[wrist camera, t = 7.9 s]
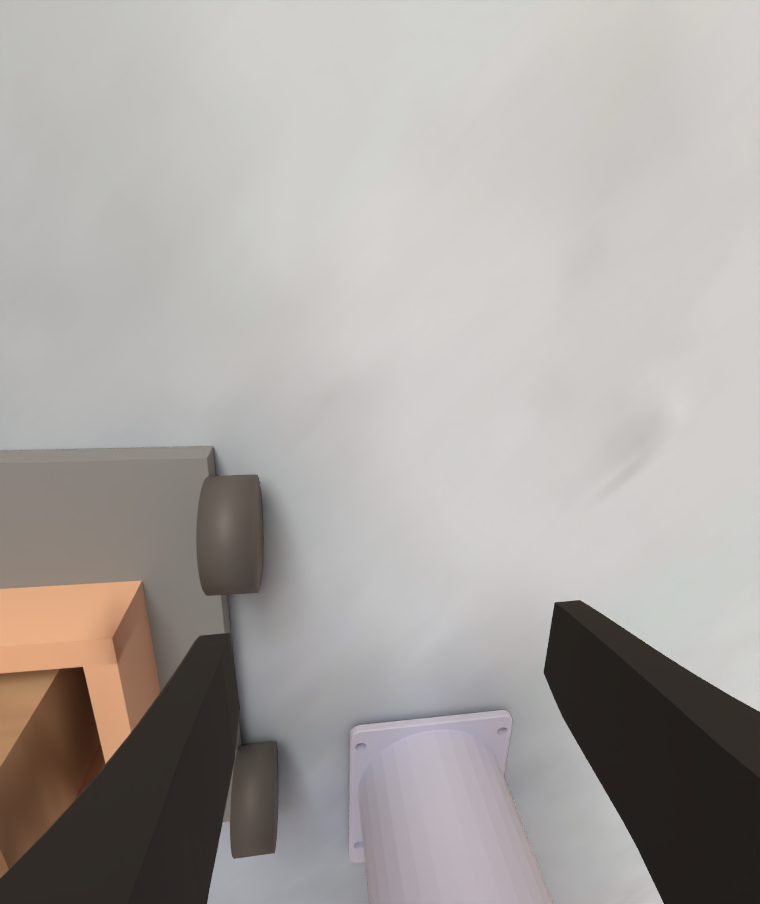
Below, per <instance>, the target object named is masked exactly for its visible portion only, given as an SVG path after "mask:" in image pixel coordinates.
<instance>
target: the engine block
mask: <svg viewBox="0 0 760 904" xmlns="http://www.w3.org/2000/svg"><path fill="white" fill-rule="evenodd" d="M99 743H100V738H99V733H98V729H97V725H96V721H95V716H94V712H93V708H92V703H91V699H90V695H89V690H88V686H87V682H86V677H85V673H84V669H83V667H74V668H61V669H49V670H37V671H24V672H12V673H0V878H1V877H2V876H3V875H4V874H5V873H6V872H7V871H8V870H9V869H10V868H11V867H12V866H13V865H14V864H15V863H16V862H17V861H18V860H19V859H20V858H21V857H22V856H23V855H24V854H25V853H26V852H27V851H28V850H29V849H30V848H31V847H32V845H33V844H34V843H35V842H36V841H37V840H38V839H39V838H40V837H41V836H42V835H43V834H44V833H45V832H46V831H47V830H48V829H49V828H50V827H51V826H52V825H53V824H54V822H55V821H56V820H57V819H58V818H59V817H60V816H61V815H62V814H63V813H64V811H65V810H66V809H67V808H68V807H69V806H70V805H71V804H72V803H73V802H74V800H75V799H76V797H77V794H78V792H79V790H80V787H81V785H82V783H83V780H84V778H85V776H86V773H87V771H88V769H89V766H90V764H91V762H92V759H93V757H94V755H95V752H96V750H97V748H98V745H99Z"/></svg>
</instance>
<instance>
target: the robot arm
mask: <svg viewBox="0 0 760 904" xmlns="http://www.w3.org/2000/svg"><path fill="white" fill-rule="evenodd" d="M544 674H545V677H546V679H547V682H548V684H549V687H550V689H551V691H552V694H553V696H554V699H555V701H556V703H557V705H558V707H559V710H560V712H561V714H562V716H563V718H564V720H565V722H566V724H567V725H568V727H569V729H570V731H571V733H572V734H573V736H574V738H575V740H576V741H577V743H578V745H579V746H580V748H581V750H582V752H583V753H584V755H585V757H586V759H587V760H588V762H589V764H590V765H591V767H592V769H593V771H594V772H595V774H596V776H597V777H598V779H599V781H600V783H601V784H602V786H603V788H604V789H605V791H606V793H607V795H608V796H609V798H610V800H611V801H612V803H613V805H614V807H615V808H616V810H617V812H618V813H619V815H620V817H621V819H622V820H623V822H624V824H625V826H626V828H627V829H628V831H629V833H630V835H631V837H632V839H633V841H634V842H635V844H636V846H637V848H638V850H639V852H640V854H641V856H642V859H643V861H644V863H645V865H646V867H647V869H648V871H649V873H650V875H651V877H652V880H653V882H654V884H655V886H656V888H657V890H658V892H659V894H660V896H661V898H662V900H663V903H664V904H760V712H759V711H757V710H755V709H753V708H752V707H750V706H748V705H746V704H744V703H743V702H741V701H739V700H737V699H735V698H734V697H732V696H730V695H728V694H727V693H725V692H723V691H722V690H720V689H718V688H717V687H715V686H713V685H712V684H710V683H708V682H706V681H705V680H703V679H701V678H700V677H698V676H696V675H695V674H693V673H692V672H690V671H688V670H687V669H685V668H684V667H682V666H680V665H679V664H677V663H676V662H674V661H672V660H671V659H669V658H668V657H666V656H665V655H663V654H662V653H660V652H659V651H657V650H655V649H654V648H652V647H651V646H649V645H648V644H646V643H645V642H643V641H642V640H640V639H639V638H637V637H636V636H634V635H633V634H631V633H630V632H628V631H627V630H625V629H624V628H622V627H621V626H619V625H618V624H616V623H615V622H613V621H612V620H610V619H609V618H607V617H606V616H604V615H603V614H601V613H600V612H598V611H596V610H595V609H593V608H592V607H590V606H589V605H587V604H585V603H584V602H582V601H580V600H577V601H567V602H556V603H555V604H554V611H553V617H552V623H551V630H550V636H549V642H548V648H547V655H546V661H545V667H544ZM239 708H240V706H239V699H238V691H237V683H236V675H235V667H234V659H233V651H232V643H231V635H230V633H222V634H212V635H201V636H199V637H198V638H197V639H196V640H195V641H194V643H193V645H192V646H191V648H190V649H189V651H188V652H187V654H186V655H185V657H184V659H183V660H182V662H181V663H180V665H179V666H178V668H177V669H176V671H175V672H174V674H173V675H172V677H171V678H170V679H169V681H168V682H167V684H166V685H165V687H164V688H163V690H162V691H161V692H160V694H159V695H158V697H157V698H156V699H155V701H154V702H153V703H152V705H151V706H150V707H149V709H148V710H147V712H146V713H145V714H144V716H143V717H142V718H141V720H140V721H139V723H138V724H137V725H136V726H135V728H134V729H133V730H132V732H131V733H130V734H129V735H128V737H127V738H126V739H125V740H124V742H123V743H122V744H121V745H120V747H119V748H118V749H117V750H116V752H115V753H114V754H113V755H112V757H111V758H110V759H109V760H108V762H107V763H106V764H105V765H104V767H103V768H102V769H101V770H100V772H99V773H98V774H97V775H96V776H95V777H94V779H93V780H92V781H91V782H90V783H89V784H88V786H87V787H86V788H85V789H84V790H83V791H82V793H81V794H80V795H79V796H78V797H77V798H76V799H75V800H74V802H73V803H72V804H71V805H70V806H69V807H68V808H67V809H66V810H65V811H64V813H63V814H62V815H61V816H60V817H59V818H58V819H57V820H56V821H55V822H54V824H53V825H52V826H51V827H50V828H49V829H48V830H47V831H46V832H45V833H44V834H43V835H42V836H41V837H40V838H39V839H38V840H37V841H36V842H35V843H34V844H33V845H32V847H31V848H30V849H29V850H28V851H27V852H26V853H25V854H24V855H23V856H22V857H21V858H20V859H19V860H18V861H17V862H16V863H15V864H14V865H13V866H12V867H11V868H10V869H9V870H8V871H7V872H6V873H5V874H4V875H3V876H2V877H1V878H0V904H207V900H208V894H209V888H210V883H211V878H212V873H213V868H214V863H215V858H216V853H217V848H218V842H219V837H220V832H221V827H222V822H223V817H224V812H225V807H226V802H227V797H228V792H229V787H230V781H231V776H232V771H233V766H234V760H235V752H236V742H237V731H238V719H239ZM512 723H513V720H512V717H511V715H510V713H509V712H508V711H506V710H497V711H487V712H478V713H468V714H459V715H449V716H440V717H430V718H421V719H411V720H402V721H392V722H383V723H373V724H364V725H358V726H355V727H354V728H352V730H351V731H350V740H349V859H350V861H351V862H353V863H363V862H365V866H366V875H367V885H368V895H369V904H553V902H552V899H551V897H550V894H549V891H548V889H547V886H546V884H545V881H544V879H543V876H542V874H541V871H540V869H539V866H538V863H537V861H536V858H535V856H534V853H533V851H532V848H531V846H530V843H529V840H528V838H527V835H526V833H525V830H524V828H523V825H522V823H521V820H520V818H519V815H518V812H517V810H516V807H515V805H514V802H513V800H512V797H511V795H510V792H509V790H508V787H507V784H506V782H505V779H504V772H505V766H506V760H507V754H508V748H509V742H510V735H511V729H512ZM359 743H361V744H359Z"/></svg>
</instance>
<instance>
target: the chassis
mask: <svg viewBox="0 0 760 904" xmlns="http://www.w3.org/2000/svg"><path fill="white" fill-rule="evenodd" d="M262 564H263V511H262V497H261V488H260V482H259V478H258V476H257V475H232V476H216V472H215V462H214V451H213V446H196V447H151V448H105V449H60V450H14V451H0V673H12V672H24V671H37V670H49V669H61V668H74V667H83V669H84V673H85V677H86V682H87V686H88V690H89V695H90V699H91V703H92V708H93V712H94V716H95V721H96V725H97V729H98V733H99V738H100V743H99V745H98V748H97V750H96V752H95V755H94V757H93V759H92V762H91V764H90V766H89V769H88V771H87V773H86V776H85V778H84V780H83V783H82V785H81V787H80V790H79V792H78V794H77V797H78V796H79V795H80V794H81V793H82V791H83V790H84V789H85V788H86V787H87V786H88V784H89V783H90V782H91V781H92V780H93V779H94V777H95V776H96V775H97V774H98V773H99V772H100V770H101V769H102V768H103V767H104V765H105V764H106V763H107V762H108V760H109V759H110V758H111V757H112V755H113V754H114V753H115V752H116V750H117V749H118V748H119V747H120V745H121V744H122V743H123V742H124V740H125V739H126V738H127V737H128V735H129V734H130V733H131V732H132V730H133V729H134V728H135V726H136V725H137V724H138V723H139V721H140V720H141V718H142V717H143V716H144V714H145V713H146V712H147V710H148V709H149V707H150V706H151V705H152V703H153V702H154V701H155V699H156V698H157V697H158V695H159V694H160V692H161V691H162V690H163V688H164V687H165V685H166V684H167V682H168V681H169V679H170V678H171V677H172V675H173V674H174V672H175V671H176V669H177V668H178V666H179V665H180V663H181V662H182V660H183V659H184V657H185V655H186V654H187V652H188V651H189V649H190V648H191V646H192V645H193V643H194V641H195V640H196V639H197V638H198V637H199V636H201V635H212V634H222V633H230V635H231V628H230V618H229V607H228V597H227V595H230V594H245V593H258V592H259V589H260V585H261V577H262ZM231 643H232V638H231ZM232 651H233V649H232ZM77 797H76V798H77ZM224 821H230V840H231V852H232V856H233V858H234V859H235V858H242V857H249V856H256V855H264V854H271V853H275V848H276V839H277V821H278V752H277V743H276V742H267V743H258V744H249V745H242V742H241V732H240V722H239V719H238V731H237V742H236V752H235V760H234V766H233V771H232V776H231V781H230V787H229V792H228V797H227V802H226V807H225V812H224V817H223V822H224Z"/></svg>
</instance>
